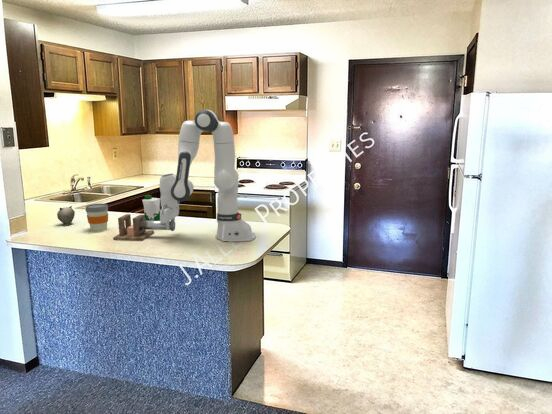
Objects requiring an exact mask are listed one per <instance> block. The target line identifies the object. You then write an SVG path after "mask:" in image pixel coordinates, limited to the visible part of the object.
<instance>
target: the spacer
mask: <svg viewBox="0 0 552 414" xmlns="http://www.w3.org/2000/svg"><path fill="white" fill-rule="evenodd" d="M127 235H128V236H134V230H133V224H131V226H130V227H128V228H127Z"/></svg>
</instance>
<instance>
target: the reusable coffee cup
mask: <svg viewBox="0 0 552 414" xmlns="http://www.w3.org/2000/svg"><path fill="white" fill-rule="evenodd" d="M108 206H109V205H108V204H107V203H93V204H88V205H85V212H86V218H87V222H88V224H89V228H90V231H91V232H92V231H93V233H95V232H96V233H97V232H98V233H101V232H105V231H107V230H108V222H109V213H108V212H109V211H108V210H109V207H108Z"/></svg>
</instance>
